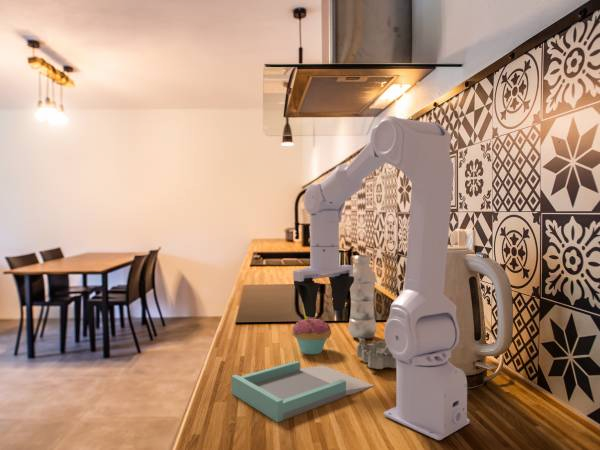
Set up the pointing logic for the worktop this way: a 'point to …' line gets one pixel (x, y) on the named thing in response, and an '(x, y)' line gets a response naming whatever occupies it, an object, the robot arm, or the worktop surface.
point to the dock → (293, 389)
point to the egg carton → (375, 354)
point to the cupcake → (311, 334)
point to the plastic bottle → (362, 299)
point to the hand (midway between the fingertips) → (324, 313)
